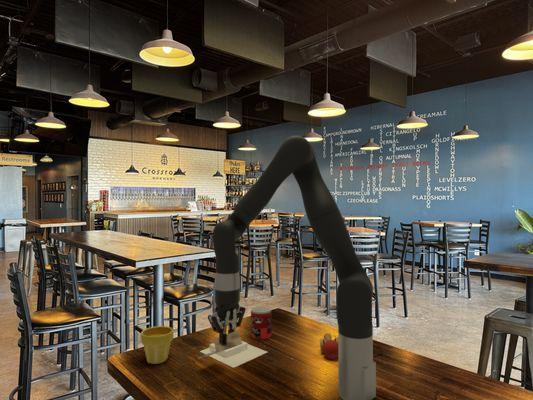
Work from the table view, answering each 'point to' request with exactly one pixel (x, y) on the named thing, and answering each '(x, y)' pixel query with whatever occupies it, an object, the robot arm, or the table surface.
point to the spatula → (232, 341)
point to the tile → (230, 351)
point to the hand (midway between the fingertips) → (227, 343)
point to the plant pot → (157, 343)
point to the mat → (237, 356)
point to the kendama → (329, 346)
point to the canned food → (261, 323)
